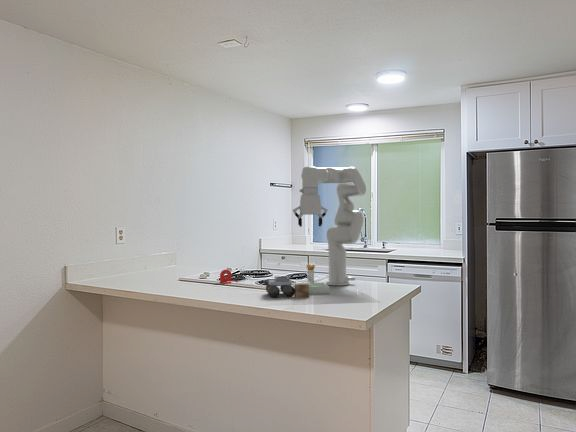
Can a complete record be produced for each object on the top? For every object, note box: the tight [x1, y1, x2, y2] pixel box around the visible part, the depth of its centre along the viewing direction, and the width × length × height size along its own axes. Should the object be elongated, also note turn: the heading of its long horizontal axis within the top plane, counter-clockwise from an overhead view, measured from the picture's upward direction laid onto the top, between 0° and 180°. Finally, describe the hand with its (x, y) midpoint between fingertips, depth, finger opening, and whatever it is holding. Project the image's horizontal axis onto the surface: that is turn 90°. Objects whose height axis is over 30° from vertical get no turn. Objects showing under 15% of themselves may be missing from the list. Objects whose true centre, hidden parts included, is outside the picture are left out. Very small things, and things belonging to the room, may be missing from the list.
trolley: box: [265, 275, 295, 299], centre depth 209 cm, size 12×12×8 cm
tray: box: [292, 281, 330, 295], centre depth 219 cm, size 16×13×4 cm
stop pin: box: [306, 264, 316, 287], centre depth 219 cm, size 4×4×12 cm
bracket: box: [219, 268, 239, 285], centre depth 250 cm, size 12×4×8 cm, turn 130°
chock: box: [294, 282, 310, 299], centre depth 206 cm, size 6×4×6 cm, turn 97°
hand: (310, 226), depth 220 cm, fingers open, 9 cm apart
